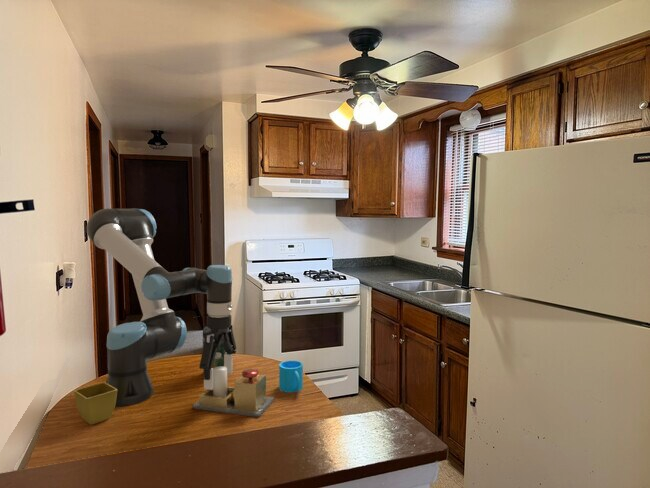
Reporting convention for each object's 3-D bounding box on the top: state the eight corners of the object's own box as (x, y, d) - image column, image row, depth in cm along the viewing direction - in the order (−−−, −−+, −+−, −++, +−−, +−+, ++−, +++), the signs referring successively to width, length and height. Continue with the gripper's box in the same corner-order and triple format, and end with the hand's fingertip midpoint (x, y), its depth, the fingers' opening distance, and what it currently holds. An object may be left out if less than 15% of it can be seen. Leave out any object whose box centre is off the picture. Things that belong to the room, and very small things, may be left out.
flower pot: (105, 409, 134) (104, 381, 133) (119, 418, 128) (118, 388, 128) (74, 420, 127) (73, 390, 126) (87, 430, 122) (86, 398, 121)
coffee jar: (201, 372, 165) (201, 324, 164) (222, 369, 168) (222, 322, 167) (205, 381, 156) (204, 330, 155) (227, 378, 160) (227, 328, 158)
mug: (276, 385, 154) (276, 362, 154) (297, 381, 158) (297, 359, 157) (287, 398, 143) (287, 374, 143) (310, 394, 147) (310, 370, 146)
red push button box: (193, 408, 136) (192, 373, 135) (212, 392, 147) (212, 360, 146) (259, 417, 130) (259, 381, 129) (274, 400, 142) (274, 367, 141)
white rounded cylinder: (210, 401, 138) (210, 370, 137) (217, 395, 142) (217, 365, 142) (223, 403, 137) (222, 372, 136) (229, 397, 141) (229, 367, 141)
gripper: (210, 325, 125) (210, 398, 127) (246, 307, 149) (246, 368, 150) (187, 323, 127) (187, 394, 129) (226, 305, 150) (226, 365, 152)
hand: (218, 380), depth 140 cm, fingers open, 12 cm apart
